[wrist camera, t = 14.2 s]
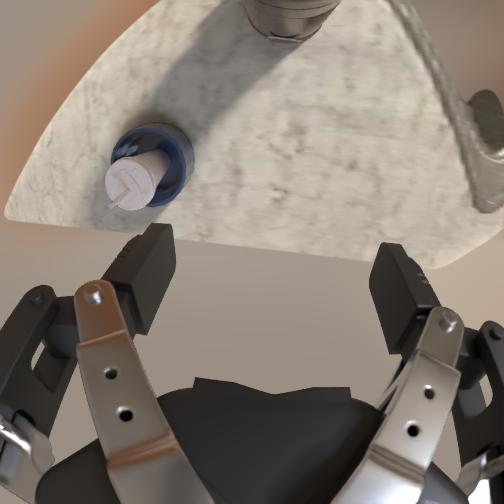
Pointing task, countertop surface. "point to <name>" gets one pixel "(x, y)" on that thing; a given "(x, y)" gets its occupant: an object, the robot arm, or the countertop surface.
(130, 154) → the bowl
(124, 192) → the smoothie
